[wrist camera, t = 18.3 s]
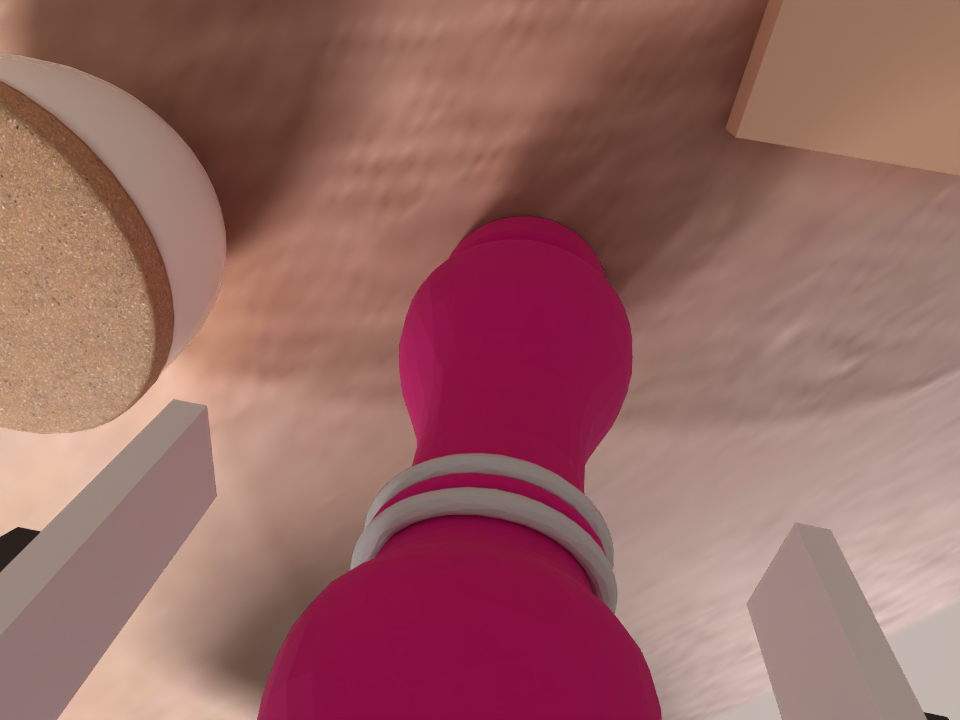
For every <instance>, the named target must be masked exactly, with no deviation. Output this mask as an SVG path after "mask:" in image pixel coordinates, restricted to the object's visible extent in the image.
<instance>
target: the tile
mask: <svg viewBox="0 0 960 720" xmlns="http://www.w3.org/2000/svg"><path fill="white" fill-rule="evenodd" d="M725 129H726V130H727V131H728V132H729V133H731V134H732V135H733V136H735V137H737V138H743V139H748V140H754V141H760V142H766V143H772V144H778V145H783V146H789V147H795V148H801V149H807V150H812V151H818V152H824V153H830V154H836V155H842V156H847V157H853V158H859V159H865V160H871V161H877V162H882V163H888V164H894V165H900V166H906V167H912V168H917V169H923V170H929V171H935V172H941V173H947V174H952V175H958V176H960V0H769V1H768V4H767V7H766V10H765V13H764V16H763V19H762V22H761V25H760V28H759V31H758V34H757V37H756V40H755V42H754V45H753V48H752V51H751V54H750V57H749V60H748V63H747V66H746V69H745V72H744V75H743V78H742V81H741V84H740V87H739V90H738V93H737V96H736V98H735V101H734V104H733V107H732V110H731V113H730V116H729V119H728V122H727V125H726V128H725Z"/></svg>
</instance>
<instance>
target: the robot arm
mask: <svg viewBox="0 0 960 720" xmlns="http://www.w3.org/2000/svg"><path fill="white" fill-rule="evenodd" d="M216 496H217V494H216V485H215V476H214V466H213V457H212V448H211V439H210V429H209V420H208V411H207V406H205V405H200V404H195V403H190V402H185V401H180V400H175V399H173V400H172V401H171V402H170V403H169V404H168V405H167V406H166V407H165V408H164V409H163V410H162V411H161V412H160V413H159V414H158V415H157V416H156V417H155V418H154V419H153V420H152V421H151V422H150V423H149V424H148V425H147V426H146V427H145V428H144V429H143V430H142V431H141V432H140V433H139V434H138V435H137V436H136V437H135V438H134V439H133V440H132V441H131V442H130V443H129V444H128V445H127V446H126V447H125V448H124V449H123V450H122V451H121V452H120V453H119V454H118V455H117V456H116V457H115V458H114V459H113V460H112V461H111V462H110V463H109V464H108V465H107V466H106V467H105V468H104V469H103V470H102V471H101V472H100V473H99V474H98V475H97V476H96V477H95V478H94V479H93V480H92V481H91V482H90V483H89V484H88V485H87V486H86V487H85V488H84V489H83V490H82V491H81V492H80V493H79V494H78V495H77V496H76V497H75V498H74V499H73V500H72V501H71V502H70V503H69V504H68V505H67V506H66V507H65V508H64V509H63V510H62V511H61V512H60V513H59V514H58V515H57V516H56V517H55V518H54V519H53V520H52V521H51V522H50V523H49V524H48V525H47V526H46V527H45V528H44V529H43V530H42V531H41V532H40V531H35V530H30V529H25V528H20V527H17V528H15V529H14V530H12V531H10V532H8V533H6V534H5V535H3V536H1V537H0V720H57V719H58V717H59V716H60V715H61V713H62V712H63V710H64V709H65V708H66V706H67V705H68V703H69V702H70V701H71V699H72V698H73V696H74V695H75V694H76V692H77V691H78V689H79V688H80V687H81V685H82V684H83V682H84V681H85V680H86V678H87V677H88V675H89V674H90V673H91V671H92V670H93V668H94V667H95V666H96V664H97V663H98V661H99V660H100V659H101V657H102V656H103V654H104V653H105V652H106V650H107V649H108V647H109V646H110V645H111V643H112V642H113V640H114V639H115V638H116V636H117V635H118V633H119V632H120V631H121V629H122V628H123V626H124V625H125V624H126V622H127V621H128V619H129V618H130V617H131V615H132V614H133V612H134V611H135V610H136V608H137V607H138V605H139V604H140V603H141V601H142V600H143V598H144V597H145V596H146V594H147V593H148V591H149V590H150V589H151V587H152V586H153V584H154V583H155V582H156V580H157V579H158V577H159V576H160V575H161V573H162V572H163V570H164V569H165V568H166V566H167V565H168V563H169V562H170V561H171V559H172V558H173V556H174V555H175V554H176V552H177V551H178V549H179V548H180V547H181V545H182V544H183V542H184V541H185V540H186V538H187V537H188V535H189V534H190V533H191V531H192V530H193V528H194V527H195V526H196V524H197V523H198V521H199V520H200V519H201V517H202V516H203V514H204V513H205V512H206V510H207V509H208V507H209V506H210V505H211V503H212V502H213V500H214V499H215V498H216ZM747 606H748V609H749V613H750V616H751V619H752V622H753V626H754V629H755V632H756V635H757V639H758V642H759V645H760V649H761V652H762V655H763V658H764V662H765V665H766V668H767V671H768V675H769V678H770V681H771V684H772V688H773V691H774V694H775V698H776V701H777V704H778V707H779V711H780V714H781V717H782V720H949V719H948V718H947V717H944V716H939V715H934V714H930V713H925V712H923V710H922V708H921V706H920V704H919V702H918V701H917V699H916V697H915V695H914V693H913V691H912V689H911V687H910V685H909V683H908V681H907V679H906V677H905V675H904V673H903V671H902V669H901V667H900V665H899V663H898V661H897V659H896V657H895V655H894V653H893V651H892V650H891V648H890V646H889V644H888V642H887V640H886V638H885V636H884V634H883V632H882V630H881V628H880V626H879V624H878V622H877V620H876V618H875V616H874V614H873V612H872V610H871V608H870V606H869V604H868V602H867V600H866V599H865V597H864V595H863V593H862V591H861V589H860V587H859V585H858V583H857V581H856V579H855V577H854V575H853V573H852V571H851V569H850V567H849V565H848V563H847V561H846V559H845V557H844V555H843V553H842V551H841V549H840V547H839V546H838V544H837V542H836V540H835V538H834V536H833V534H832V532H831V530H829V529H824V528H819V527H814V526H809V525H804V524H799V523H795V524H794V526H793V527H792V529H791V531H790V532H789V534H788V536H787V537H786V539H785V541H784V542H783V544H782V546H781V547H780V549H779V551H778V552H777V554H776V556H775V557H774V559H773V561H772V562H771V564H770V566H769V567H768V569H767V571H766V572H765V574H764V576H763V577H762V579H761V581H760V582H759V584H758V586H757V587H756V589H755V591H754V592H753V594H752V596H751V597H750V599H749V601H748V602H747Z"/></svg>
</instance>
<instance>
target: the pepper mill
mask: <svg viewBox="0 0 960 720" xmlns="http://www.w3.org/2000/svg"><path fill="white" fill-rule="evenodd" d="M399 368H400V378H401V385H402V392H403V397H404V400H405V403H406V406H407V409H408V412H409V415H410V418H411V421H412V424H413V428H414V431H415V434H416V438H417V450H416V453H415V457H414V461H413V465H412V467H410V468H408V469H406V470H405V471H403V472H402V473H400V474H399V475H397V476H396V477H394V478H393V479H392V480H391V481H390V482H389V483H387V484H386V485H385V486H384V487H383V489H382V490H381V491H380V492H379V494H378V495H377V497H376V498H375V500H374V501H373V503H372V505H371V507H370V508H369V510H368V513H367V517H366V522H365V526H364V531H363V533H362V534H361V536H360V537H359V539H358V541H357V543H356V545H355V548H354V551H353V554H352V559H351V566H350V571H349V572H347V573H345V574H344V575H342V576H340V577H339V578H337V579H336V580H334V581H332V582H331V583H330V584H329V585H328V586H327V587H326V589H325V590H324V591H323V592H322V593H321V594H320V595H319V596H318V597H317V598H316V599H315V600H314V601H313V602H312V603H311V604H310V605H309V607H308V608H307V609H306V610H305V612H304V613H303V614H302V615H301V616H300V618H299V619H298V620H297V621H296V623H295V624H294V625H293V626H292V628H291V630H290V632H289V634H288V636H287V638H286V640H285V641H284V643H283V645H282V647H281V649H280V651H279V653H278V655H277V657H276V659H275V662H274V665H273V667H272V670H271V673H270V676H269V678H268V681H267V684H266V687H265V689H264V692H263V695H262V699H261V704H260V709H259V714H258V718H257V720H662V717H661V708H660V705H659V701H658V697H657V694H656V690H655V687H654V683H653V680H652V677H651V673H650V670H649V668H648V665H647V663H646V661H645V659H644V656H643V654H642V652H641V650H640V648H639V647H638V645H637V644H636V643H635V641H634V640H633V639H632V637H631V636H630V635H629V633H628V632H627V630H626V629H625V628H624V626H623V625H622V624H621V622H620V621H619V620H618V618H617V617H616V616H615V615H614V613H615V609H616V604H617V587H616V581H615V576H614V573H613V571H612V569H613V543H612V538H611V536H610V533H609V530H608V528H607V525H606V523H605V521H604V519H603V517H602V516H601V514H600V512H599V511H598V509H597V508H596V507H595V506H594V504H593V503H592V502H591V501H590V500H589V498H588V497H587V496H585V494H584V473H585V464H586V462H587V460H588V459H589V457H590V456H591V454H592V453H593V452H594V450H595V449H596V447H597V446H598V445H599V443H600V442H601V441H602V439H603V438H604V437H605V435H606V434H607V432H608V431H609V430H610V428H611V427H612V425H613V423H614V422H615V420H616V418H617V416H618V414H619V412H620V409H621V406H622V404H623V401H624V399H625V396H626V394H627V391H628V386H629V382H630V378H631V374H632V336H631V330H630V324H629V320H628V318H627V315H626V312H625V309H624V307H623V305H622V303H621V301H620V299H619V297H618V295H617V293H616V292H615V290H614V289H613V288H612V286H611V285H610V284H609V283H608V282H607V280H606V276H605V273H604V270H603V267H602V265H601V262H600V260H599V259H598V257H597V255H596V254H595V253H594V251H593V250H592V249H591V248H590V246H589V245H588V244H587V243H586V242H585V240H583V239H582V238H581V237H580V236H579V235H577V234H576V233H575V232H573V231H572V230H570V229H569V228H567V227H565V226H563V225H561V224H559V223H556V222H554V221H551V220H547V219H543V218H539V217H529V216H519V217H508V218H503V219H500V220H496V221H493V222H489V223H487V224H485V225H483V226H481V227H479V228H478V229H476V230H475V231H473V232H472V233H470V234H469V235H468V236H467V237H466V238H464V239H463V240H462V241H461V242H460V244H459V245H458V246H457V247H456V248H455V249H454V251H453V252H452V254H451V256H450V257H449V259H448V260H446V261H445V262H444V263H443V264H442V265H440V266H439V267H438V268H437V269H435V270H434V271H433V272H432V273H431V275H430V276H429V277H428V278H427V279H426V280H425V281H424V283H423V284H422V285H421V286H420V288H419V289H418V291H417V293H416V295H415V296H414V298H413V300H412V302H411V305H410V308H409V310H408V313H407V316H406V320H405V324H404V328H403V332H402V336H401V340H400V344H399Z"/></svg>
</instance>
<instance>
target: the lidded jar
mask: <svg viewBox="0 0 960 720" xmlns="http://www.w3.org/2000/svg"><path fill="white" fill-rule="evenodd" d="M226 255H227V247H226V231H225V226H224V221H223V216H222V211H221V207H220V204H219V201H218V198H217V195H216V192H215V190H214V187H213V185H212V183H211V181H210V179H209V177H208V175H207V173H206V171H205V169H204V168H203V166H202V165H201V163H200V162H199V160H198V159H197V157H196V156H195V154H194V153H193V151H192V150H191V149H190V147H189V146H188V145H187V144H186V143H185V141H184V140H183V139H182V138H181V137H180V136H179V134H178V133H177V132H176V131H175V130H174V129H173V128H172V127H171V126H169V125H168V124H167V123H166V122H165V121H164V120H163V119H162V118H161V117H160V116H159V115H158V114H156V113H155V112H154V111H153V110H152V109H150V108H149V107H147V106H146V105H145V104H143V103H142V102H141V101H139V100H138V99H137V98H135V97H134V96H132V95H131V94H129V93H127V92H125V91H124V90H122V89H120V88H118V87H116V86H115V85H113V84H111V83H109V82H107V81H105V80H102V79H100V78H98V77H96V76H93V75H91V74H88V73H86V72H83V71H80V70H78V69H75V68H73V67H70V66H67V65H63V64H58V63H54V62H49V61H44V60H40V59H35V58H30V57H26V56H21V55H16V54H4V53H0V427H4V428H8V429H13V430H18V431H25V432H33V433H41V434H50V433H72V432H77V431H82V430H87V429H92V428H95V427H98V426H100V425H103V424H105V423H108V422H110V421H112V420H114V419H115V418H117V417H118V416H120V415H121V414H123V413H124V412H126V411H127V410H128V409H130V408H131V407H132V406H133V405H134V404H135V403H136V402H137V401H138V400H139V399H140V398H141V397H142V396H143V395H144V394H145V393H146V392H147V391H148V390H149V389H150V387H151V386H152V385H153V384H154V383H155V382H156V381H157V379H158V377H159V376H160V375H161V374H162V373H163V372H164V371H165V370H166V369H167V368H168V367H169V366H170V364H171V363H172V362H173V361H174V360H175V359H176V358H177V357H178V356H179V355H180V354H181V353H182V352H183V351H184V350H185V348H186V347H187V346H188V345H189V344H190V342H191V341H192V340H193V338H194V337H195V336H196V334H197V333H198V332H199V330H200V329H201V327H202V325H203V324H204V322H205V320H206V318H207V317H208V315H209V313H210V311H211V309H212V307H213V305H214V304H215V302H216V300H217V297H218V294H219V291H220V287H221V284H222V280H223V276H224V271H225V263H226Z"/></svg>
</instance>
